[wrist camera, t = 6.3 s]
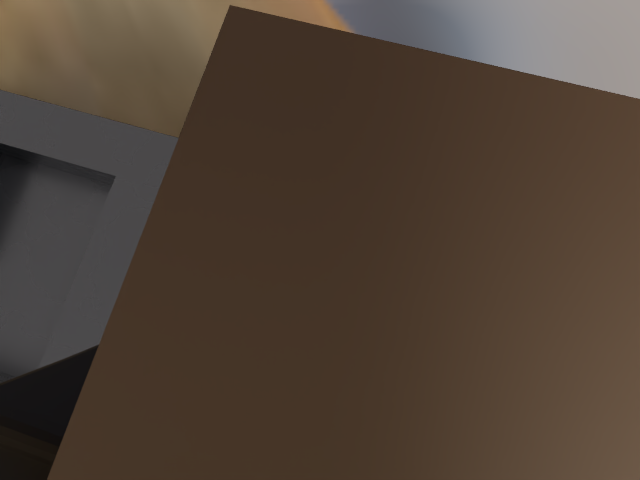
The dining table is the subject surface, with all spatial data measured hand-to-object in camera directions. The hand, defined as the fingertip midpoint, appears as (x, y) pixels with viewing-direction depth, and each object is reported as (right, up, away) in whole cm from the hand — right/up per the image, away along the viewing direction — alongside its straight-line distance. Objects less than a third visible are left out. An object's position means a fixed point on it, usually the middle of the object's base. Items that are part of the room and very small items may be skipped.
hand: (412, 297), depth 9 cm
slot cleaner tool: (0, -3, +6) cm, 7 cm away
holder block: (-13, 0, +14) cm, 19 cm away
